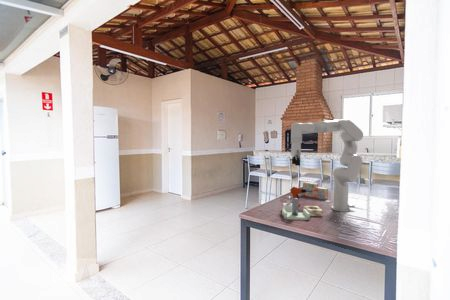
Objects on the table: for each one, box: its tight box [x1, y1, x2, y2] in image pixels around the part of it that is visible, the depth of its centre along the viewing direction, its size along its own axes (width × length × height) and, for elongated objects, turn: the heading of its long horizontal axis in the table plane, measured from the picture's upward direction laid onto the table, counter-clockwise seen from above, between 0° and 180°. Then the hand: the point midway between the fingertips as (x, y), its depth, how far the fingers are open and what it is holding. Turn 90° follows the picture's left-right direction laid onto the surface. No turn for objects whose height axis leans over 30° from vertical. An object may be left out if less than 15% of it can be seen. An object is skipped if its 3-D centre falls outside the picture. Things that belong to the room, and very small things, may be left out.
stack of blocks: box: [302, 181, 329, 200], centre depth 207 cm, size 21×6×12 cm, turn 42°
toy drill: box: [289, 186, 312, 207], centre depth 177 cm, size 5×19×15 cm, turn 42°
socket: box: [303, 205, 324, 217], centre depth 160 cm, size 10×10×4 cm
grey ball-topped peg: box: [285, 195, 293, 205], centre depth 165 cm, size 4×4×10 cm
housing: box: [282, 202, 292, 212], centre depth 165 cm, size 7×7×5 cm
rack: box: [281, 208, 311, 221], centre depth 153 cm, size 16×10×4 cm, turn 86°
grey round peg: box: [291, 197, 300, 216], centre depth 153 cm, size 4×4×11 cm
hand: (295, 164), depth 161 cm, fingers open, 9 cm apart
